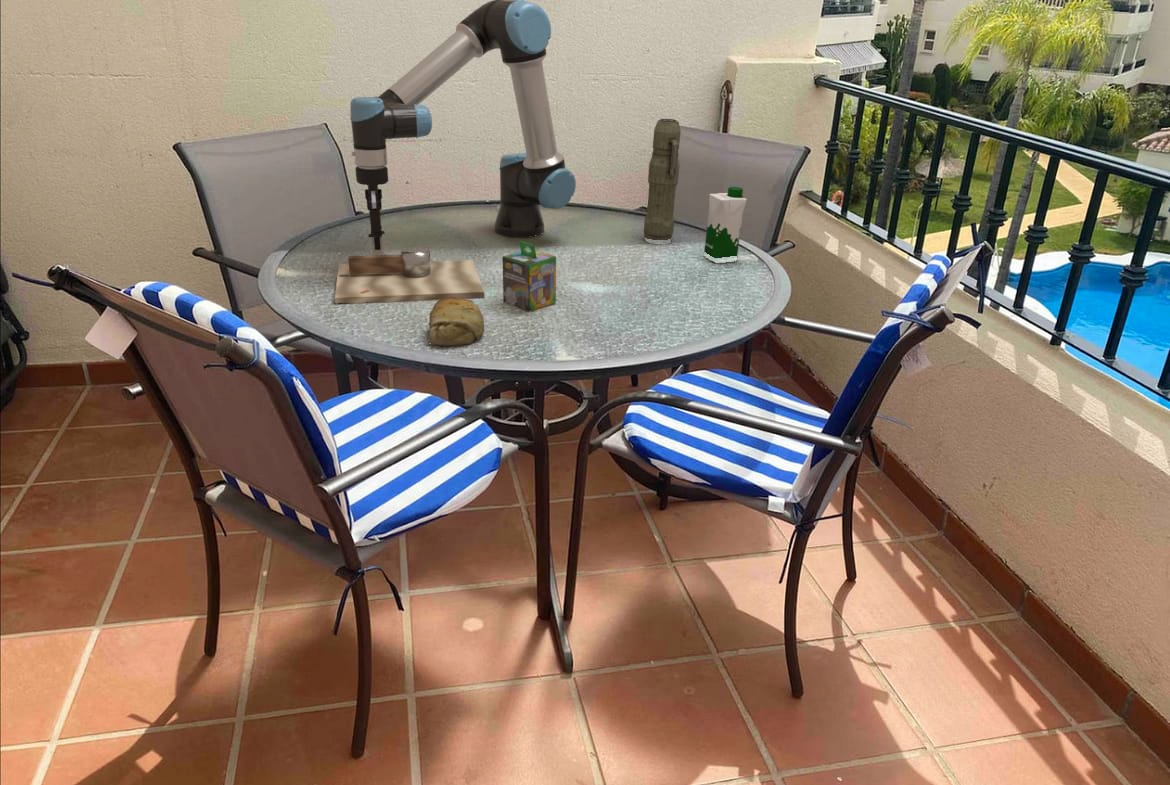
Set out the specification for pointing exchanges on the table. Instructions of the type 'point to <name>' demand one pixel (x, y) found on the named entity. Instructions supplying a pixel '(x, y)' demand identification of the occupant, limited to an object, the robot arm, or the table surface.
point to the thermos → (662, 180)
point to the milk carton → (724, 223)
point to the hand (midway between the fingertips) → (378, 260)
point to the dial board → (410, 284)
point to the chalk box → (529, 278)
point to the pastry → (455, 322)
